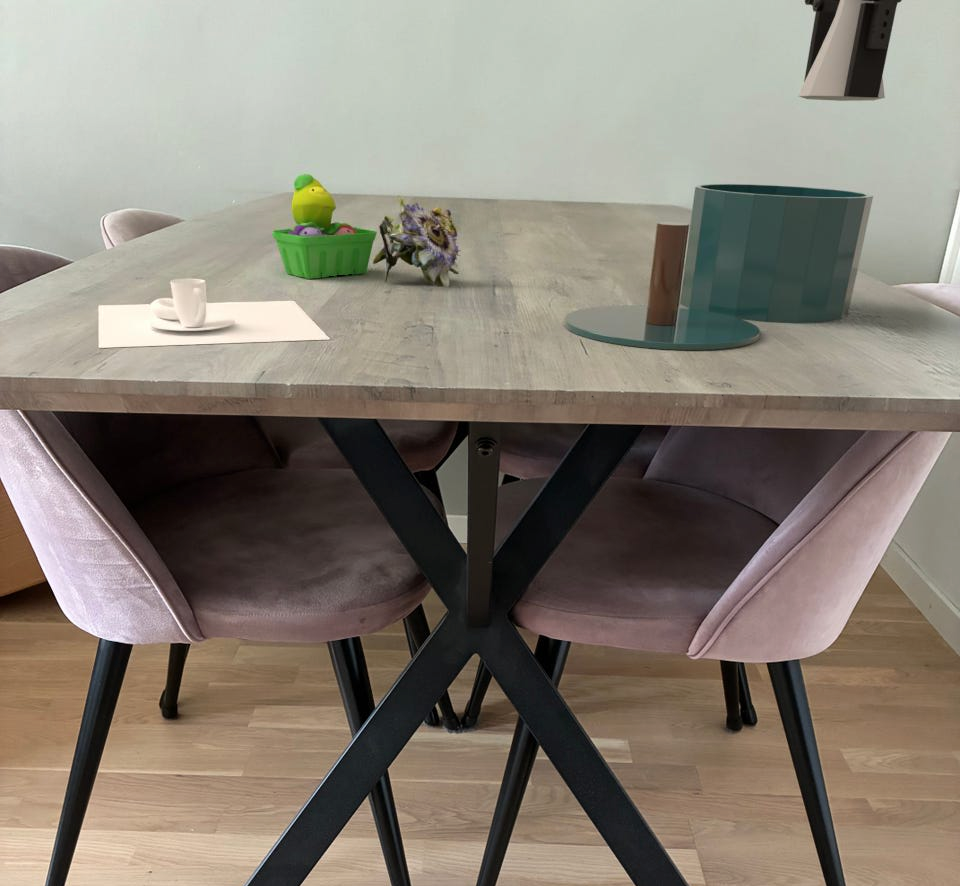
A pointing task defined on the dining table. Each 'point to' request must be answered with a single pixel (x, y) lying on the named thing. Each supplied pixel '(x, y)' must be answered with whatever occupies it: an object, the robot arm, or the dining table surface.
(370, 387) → the dining table surface
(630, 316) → the lid
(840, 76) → the flask
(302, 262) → the fruit basket
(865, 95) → the robot arm
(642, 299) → the dining table surface
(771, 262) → the pot
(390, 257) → the passion flower
